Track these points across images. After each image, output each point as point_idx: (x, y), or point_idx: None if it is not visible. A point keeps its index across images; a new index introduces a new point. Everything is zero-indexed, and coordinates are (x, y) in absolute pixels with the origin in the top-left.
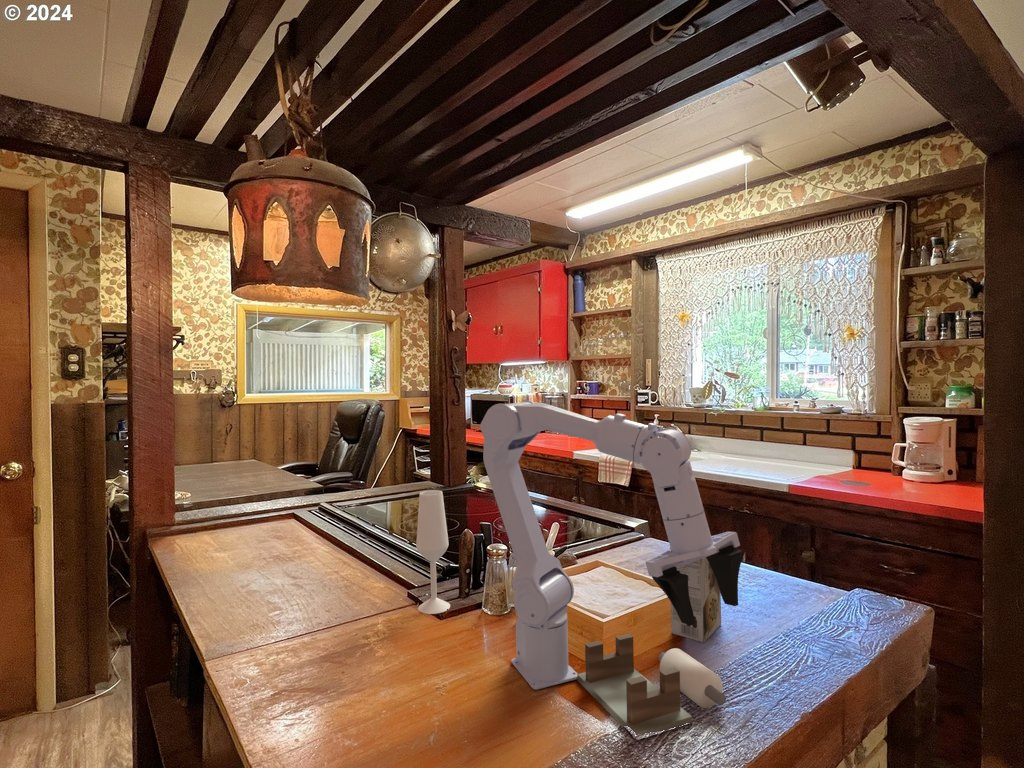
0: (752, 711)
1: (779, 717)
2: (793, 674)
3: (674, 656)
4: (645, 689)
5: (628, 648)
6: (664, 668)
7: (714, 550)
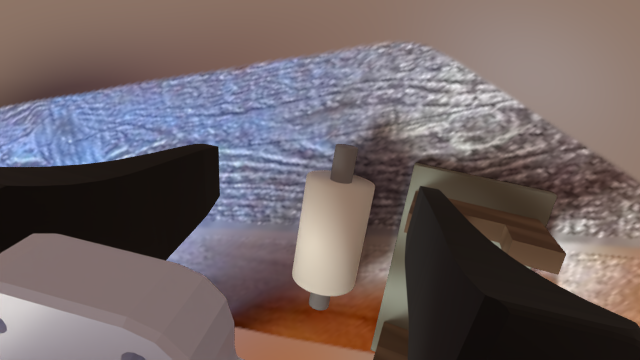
0: (299, 121)
1: (277, 83)
2: (165, 143)
3: (331, 274)
4: (513, 233)
5: (387, 358)
6: (355, 276)
7: (40, 257)
